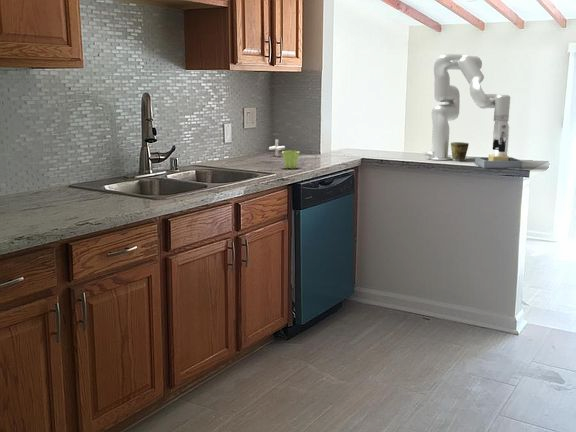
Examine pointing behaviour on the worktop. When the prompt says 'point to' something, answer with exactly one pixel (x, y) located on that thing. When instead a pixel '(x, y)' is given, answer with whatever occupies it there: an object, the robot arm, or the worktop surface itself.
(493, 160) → the box
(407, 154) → the worktop surface
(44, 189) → the worktop surface
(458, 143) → the ceramic cup
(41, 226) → the worktop surface
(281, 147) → the pipe connector
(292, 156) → the plant pot
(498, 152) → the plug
